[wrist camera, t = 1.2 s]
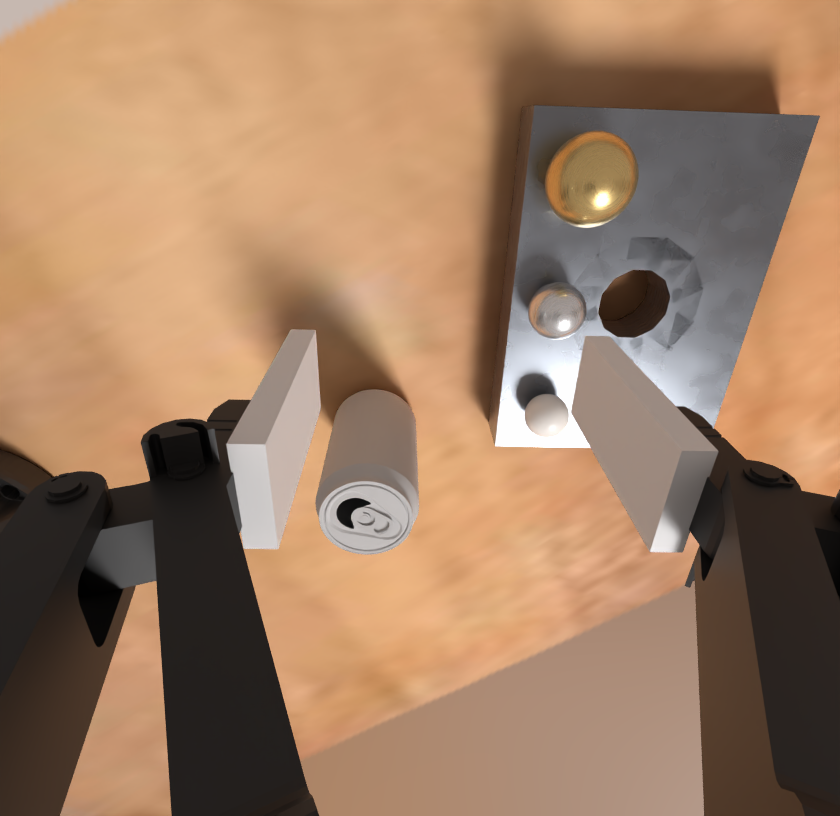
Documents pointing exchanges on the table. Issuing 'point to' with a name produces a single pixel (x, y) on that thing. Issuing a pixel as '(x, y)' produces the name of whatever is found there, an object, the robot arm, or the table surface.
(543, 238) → the plate
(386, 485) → the beverage can
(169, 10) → the table surface
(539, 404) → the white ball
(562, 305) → the steel ball
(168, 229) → the table surface
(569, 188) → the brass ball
